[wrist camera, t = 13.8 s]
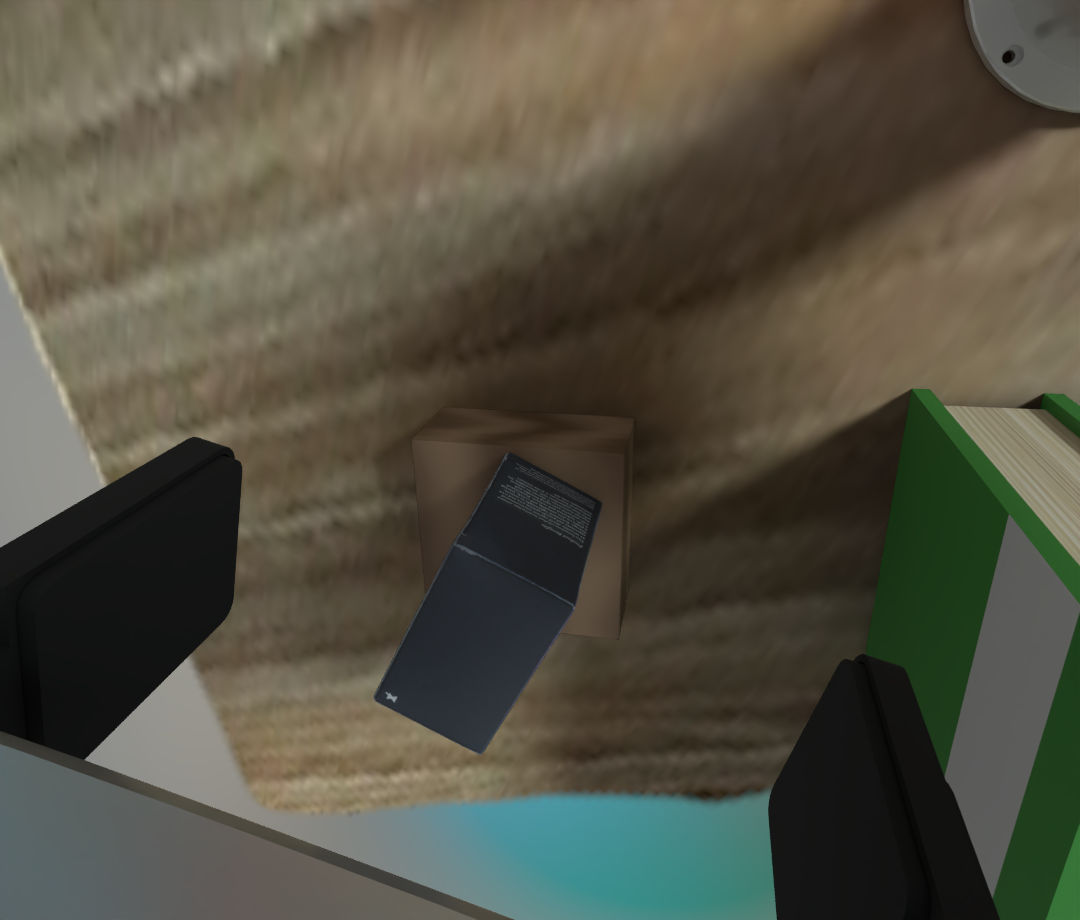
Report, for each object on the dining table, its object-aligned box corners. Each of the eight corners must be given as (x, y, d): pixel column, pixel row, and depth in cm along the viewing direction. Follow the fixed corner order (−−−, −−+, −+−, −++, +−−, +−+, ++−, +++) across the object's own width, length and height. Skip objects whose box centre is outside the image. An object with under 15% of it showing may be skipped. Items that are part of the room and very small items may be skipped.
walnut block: (635, 415, 45) (624, 453, 40) (629, 585, 50) (618, 639, 44) (445, 405, 48) (411, 439, 42) (457, 567, 52) (427, 617, 47)
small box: (529, 635, 46) (483, 765, 36) (435, 584, 46) (364, 702, 36) (610, 503, 41) (581, 613, 32) (506, 447, 41) (445, 540, 32)
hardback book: (911, 388, 41) (1133, 672, 19) (1063, 394, 39) (1486, 707, 18) (865, 653, 48) (990, 1078, 26) (992, 666, 46) (1236, 1128, 25)
